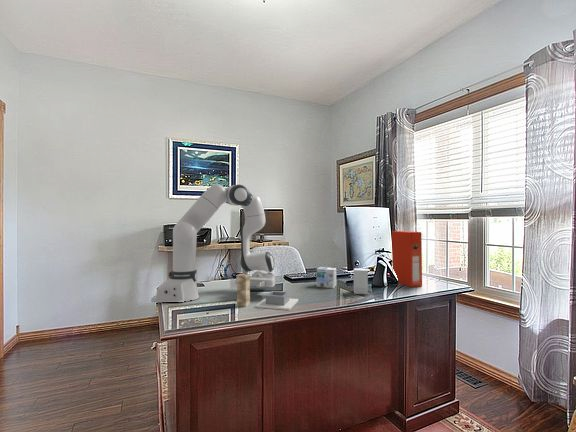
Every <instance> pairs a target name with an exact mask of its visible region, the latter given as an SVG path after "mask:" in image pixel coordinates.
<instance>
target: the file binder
mask: <svg viewBox="0 0 576 432" xmlns="http://www.w3.org/2000/svg"><path fill="white" fill-rule="evenodd" d="M391 252H392V253H391V255H392V256H391V257H392V259H391V262H392V266H393V267H392V270H393V269H394V271H395V273H396V275H397V278H398V283H397V284H399V285H403V286H406V287H409V288H419V287H422V286H423V259H422V258H423V257H422V256H423V254H422V252H423V251H422V231H408V230H407V231H406V230H397V231H396V230H392V231H391Z"/></svg>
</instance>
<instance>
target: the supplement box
mask: <svg viewBox="0 0 576 432" xmlns="http://www.w3.org/2000/svg"><path fill="white" fill-rule="evenodd" d="M368 275H369V271H368V268H363V267H361V268H357V267H356V268H355V267H354V268H353V294H355V295H357V294H358V295H369V282H368V281H369V276H368Z"/></svg>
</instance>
